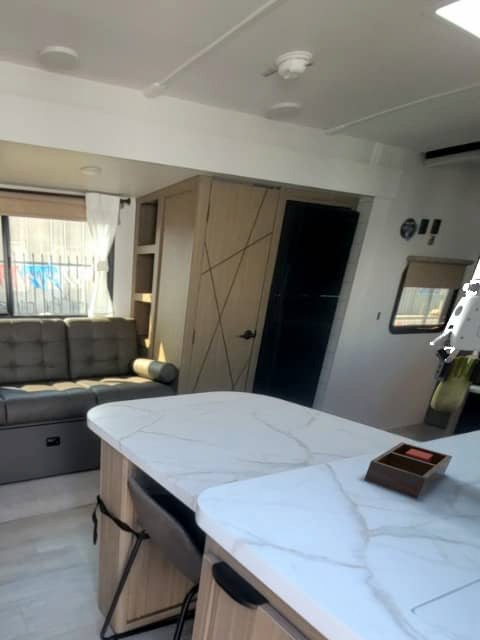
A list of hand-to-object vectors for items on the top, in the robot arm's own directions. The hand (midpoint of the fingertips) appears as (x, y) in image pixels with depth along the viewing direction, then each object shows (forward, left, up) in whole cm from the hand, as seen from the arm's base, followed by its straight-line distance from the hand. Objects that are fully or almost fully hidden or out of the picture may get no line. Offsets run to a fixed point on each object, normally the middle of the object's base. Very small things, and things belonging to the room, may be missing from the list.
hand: (456, 380), depth 88 cm
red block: (+6, +7, -19) cm, 21 cm away
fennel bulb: (0, 0, -7) cm, 7 cm away
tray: (+9, +10, -19) cm, 24 cm away
